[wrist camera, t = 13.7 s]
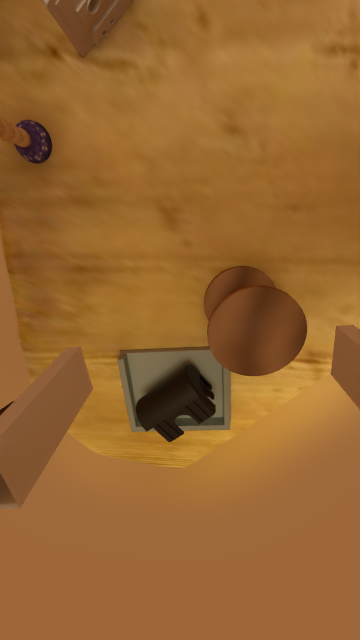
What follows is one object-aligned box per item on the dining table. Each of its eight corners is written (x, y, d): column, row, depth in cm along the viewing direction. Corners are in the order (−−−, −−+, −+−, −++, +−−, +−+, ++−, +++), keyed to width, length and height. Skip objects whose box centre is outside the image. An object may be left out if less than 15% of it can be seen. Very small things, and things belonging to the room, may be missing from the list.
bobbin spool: (277, 263, 35) (312, 284, 24) (273, 331, 38) (301, 374, 28) (202, 268, 35) (205, 291, 25) (205, 334, 39) (209, 377, 29)
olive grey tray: (229, 345, 40) (231, 354, 37) (229, 417, 45) (231, 429, 42) (120, 350, 41) (115, 359, 38) (133, 419, 46) (129, 431, 44)
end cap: (186, 354, 40) (185, 381, 33) (215, 384, 41) (219, 415, 35) (140, 388, 42) (130, 419, 36) (169, 415, 44) (165, 448, 38)
